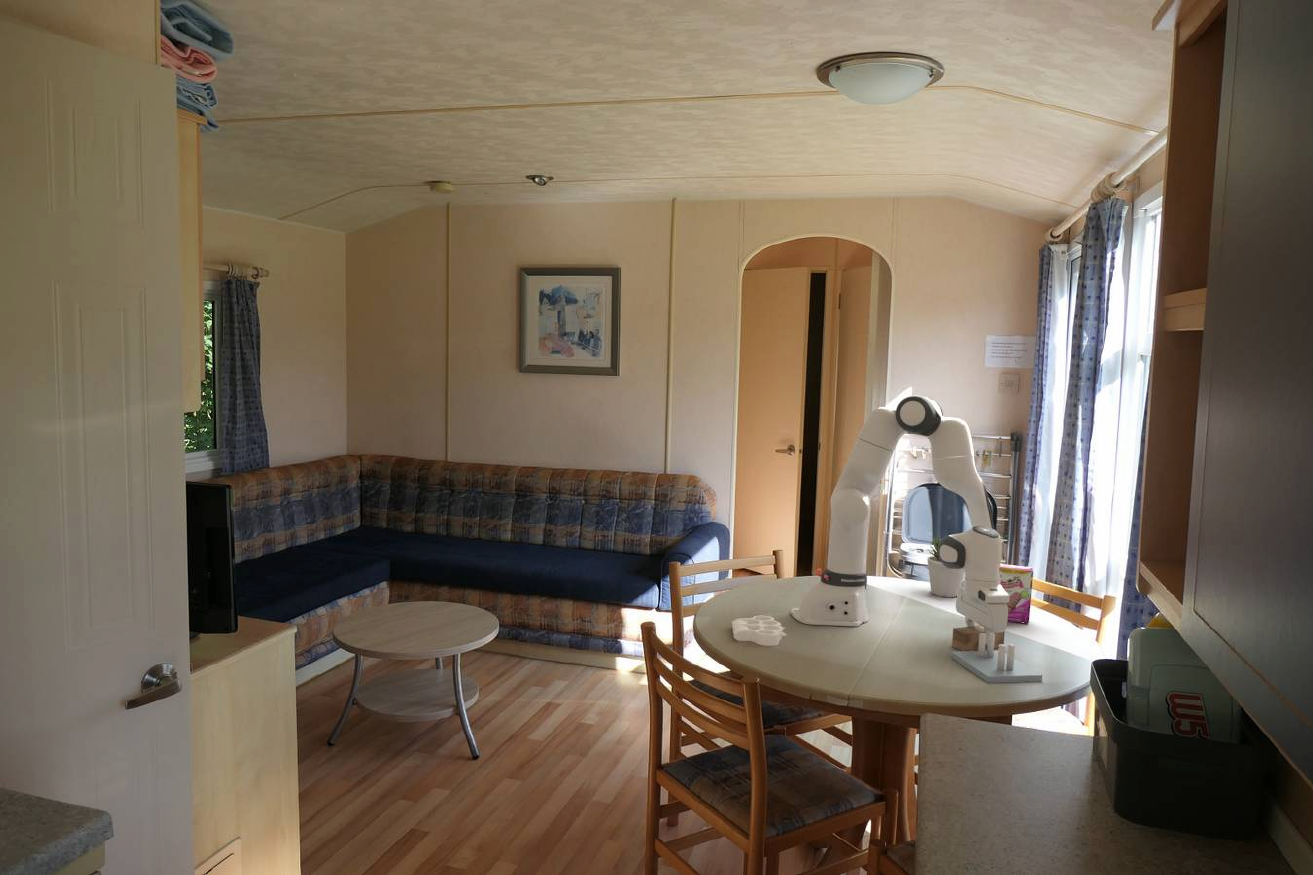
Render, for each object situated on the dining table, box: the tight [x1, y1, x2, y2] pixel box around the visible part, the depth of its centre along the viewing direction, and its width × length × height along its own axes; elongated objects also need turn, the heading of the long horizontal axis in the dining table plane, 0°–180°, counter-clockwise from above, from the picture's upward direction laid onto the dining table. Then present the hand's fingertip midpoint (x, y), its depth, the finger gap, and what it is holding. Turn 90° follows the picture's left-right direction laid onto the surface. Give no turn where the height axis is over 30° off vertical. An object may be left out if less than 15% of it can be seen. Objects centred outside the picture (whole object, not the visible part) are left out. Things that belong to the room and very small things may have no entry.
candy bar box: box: [999, 563, 1034, 624], centre depth 260 cm, size 11×5×16 cm, turn 71°
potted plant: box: [927, 532, 965, 598], centre depth 288 cm, size 13×14×20 cm
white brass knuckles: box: [731, 615, 788, 647], centre depth 238 cm, size 3×18×15 cm
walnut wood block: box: [951, 625, 1006, 651], centre depth 234 cm, size 13×5×5 cm, turn 112°
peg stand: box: [950, 633, 1043, 684], centre depth 216 cm, size 14×18×8 cm
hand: (978, 638), depth 234 cm, fingers open, 6 cm apart
